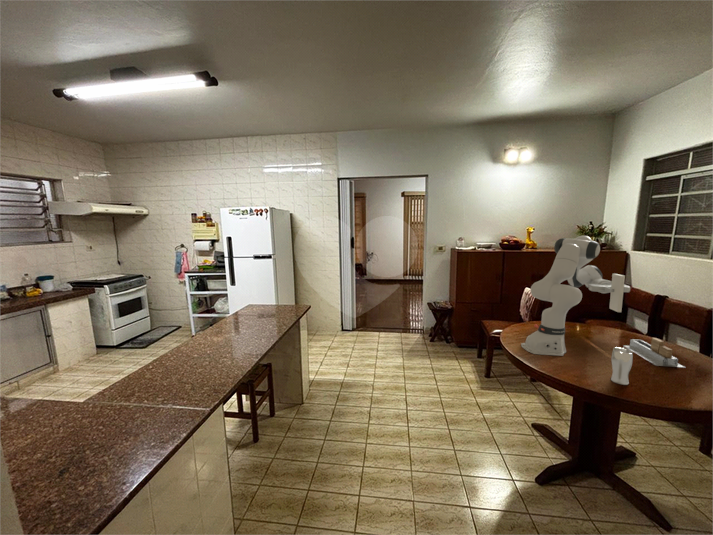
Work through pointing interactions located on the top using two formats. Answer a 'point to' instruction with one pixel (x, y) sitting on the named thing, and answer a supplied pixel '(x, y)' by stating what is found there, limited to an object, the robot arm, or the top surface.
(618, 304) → the tall panel
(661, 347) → the short offcut
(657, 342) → the tall offcut
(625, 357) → the beer glass
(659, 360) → the slot rack
